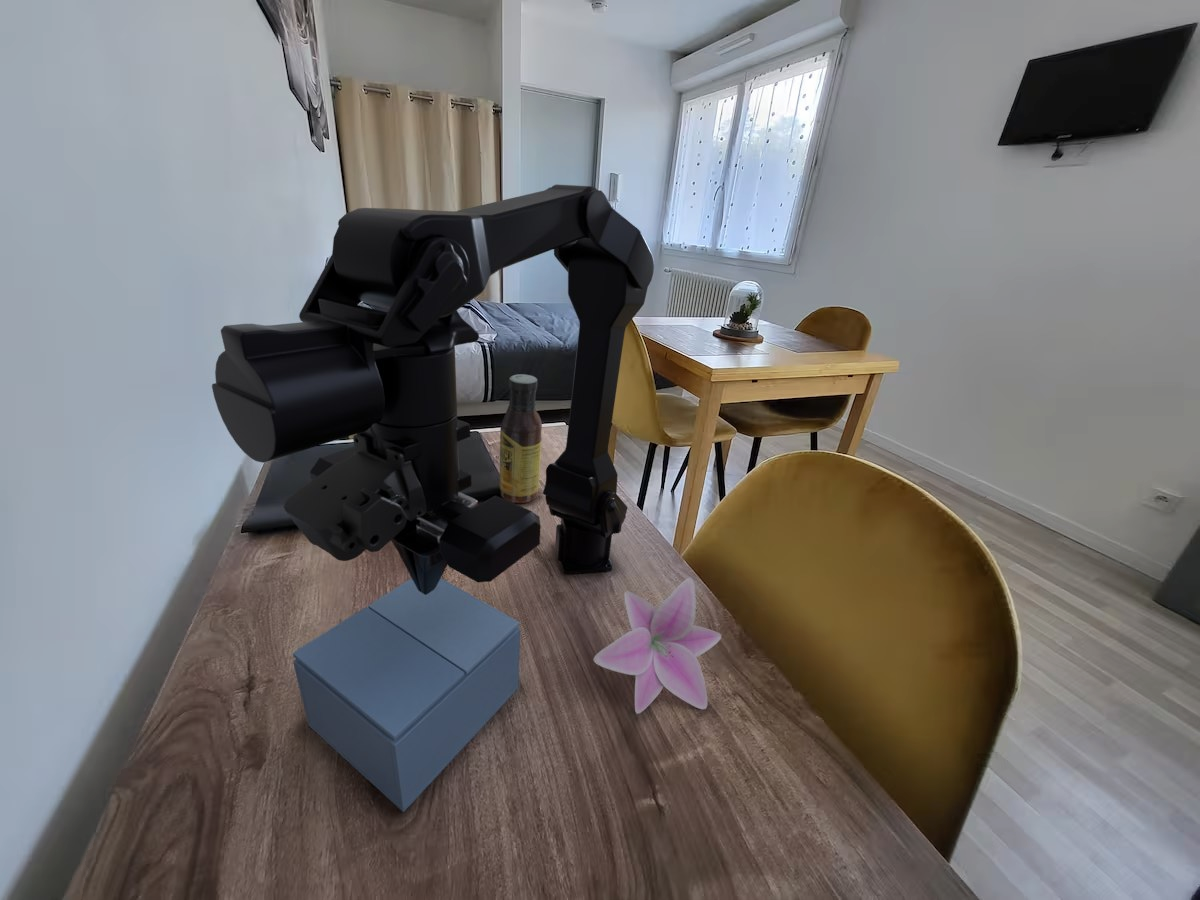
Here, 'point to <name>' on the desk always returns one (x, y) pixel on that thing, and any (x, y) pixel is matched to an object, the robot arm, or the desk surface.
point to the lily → (662, 648)
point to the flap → (446, 621)
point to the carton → (398, 700)
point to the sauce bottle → (520, 442)
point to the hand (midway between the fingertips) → (427, 590)
